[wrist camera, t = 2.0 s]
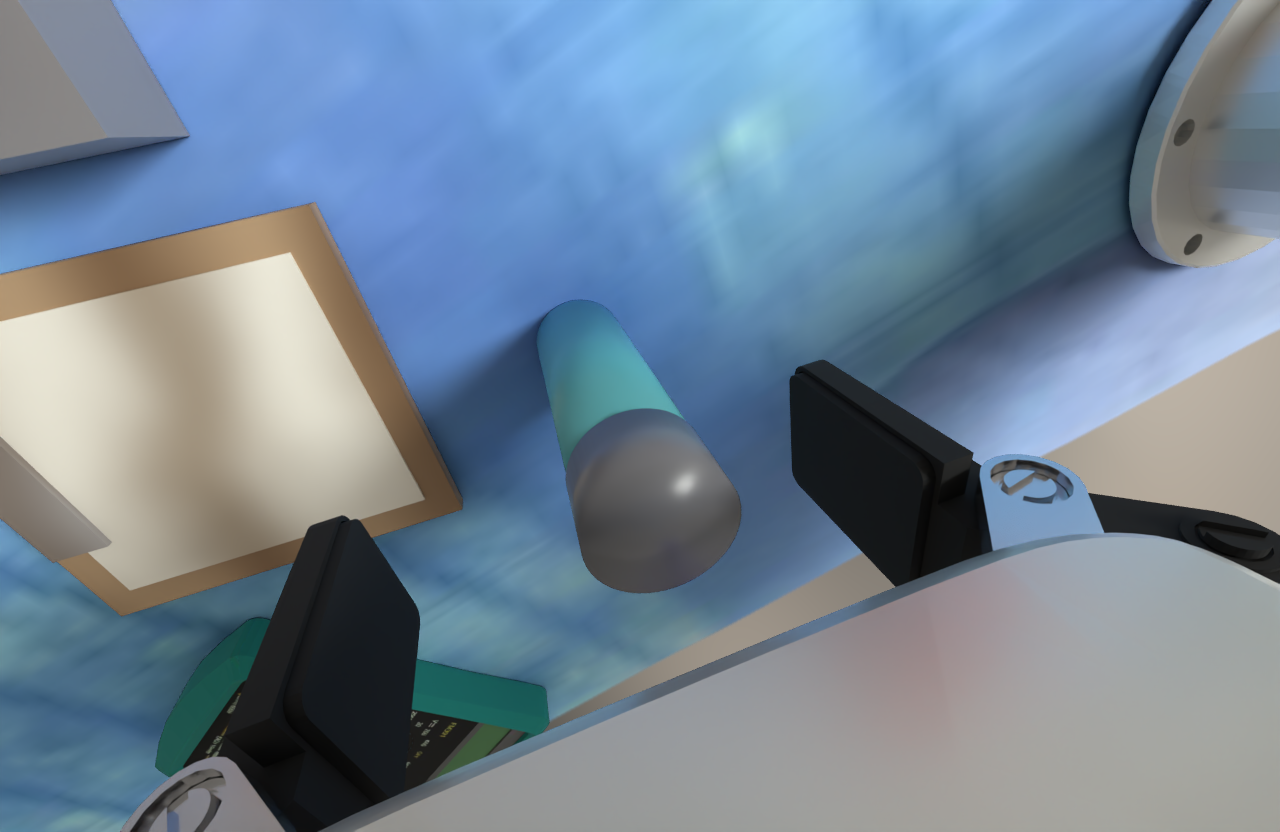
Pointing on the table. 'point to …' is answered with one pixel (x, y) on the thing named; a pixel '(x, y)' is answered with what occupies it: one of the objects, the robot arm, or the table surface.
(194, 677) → the digital multimeter
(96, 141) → the button housing
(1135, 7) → the table surface
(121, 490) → the clipboard
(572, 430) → the marker
